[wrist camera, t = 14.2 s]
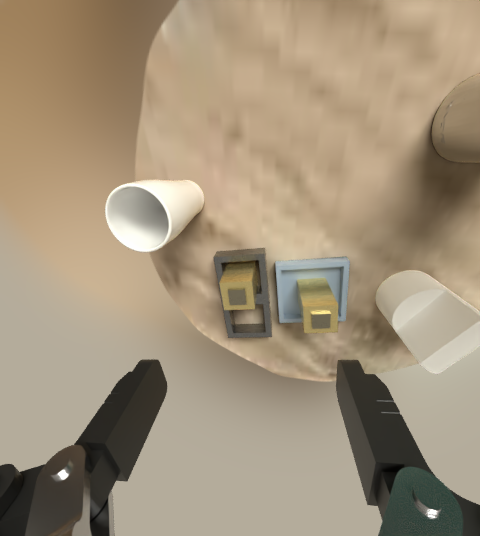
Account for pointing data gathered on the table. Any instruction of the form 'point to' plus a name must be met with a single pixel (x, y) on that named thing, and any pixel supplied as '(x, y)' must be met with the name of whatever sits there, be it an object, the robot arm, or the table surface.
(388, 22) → the table surface
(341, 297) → the parts tray
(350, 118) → the table surface
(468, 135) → the robot arm
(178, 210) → the white tapered cylinder
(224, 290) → the square peg
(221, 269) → the frame
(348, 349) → the table surface
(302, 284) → the gold square peg
